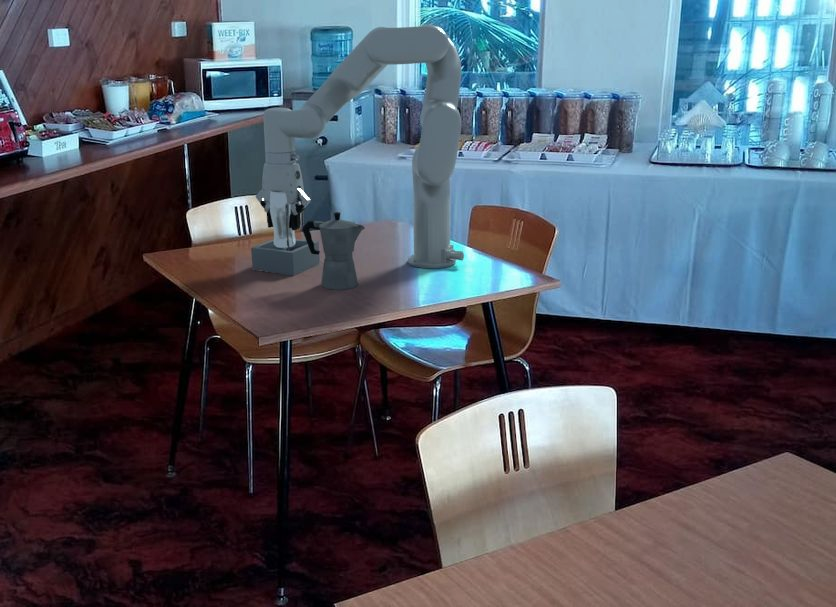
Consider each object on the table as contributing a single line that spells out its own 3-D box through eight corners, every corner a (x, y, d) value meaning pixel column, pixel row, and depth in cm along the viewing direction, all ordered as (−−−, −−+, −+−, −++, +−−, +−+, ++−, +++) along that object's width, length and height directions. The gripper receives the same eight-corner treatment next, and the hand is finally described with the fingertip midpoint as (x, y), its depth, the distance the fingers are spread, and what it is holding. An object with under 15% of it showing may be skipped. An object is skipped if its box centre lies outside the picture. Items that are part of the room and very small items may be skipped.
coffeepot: (370, 280, 226) (369, 209, 220) (360, 291, 217) (358, 217, 212) (311, 277, 229) (308, 206, 223) (298, 288, 220) (295, 215, 215)
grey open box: (319, 263, 241) (318, 241, 239) (294, 275, 230) (292, 252, 229) (279, 258, 246) (278, 237, 244) (252, 270, 235) (251, 247, 234)
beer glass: (296, 250, 233) (294, 192, 229) (269, 250, 233) (266, 192, 229) (300, 243, 240) (298, 187, 235) (273, 243, 240) (271, 187, 235)
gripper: (318, 158, 229) (320, 228, 235) (260, 154, 236) (264, 221, 242) (302, 162, 223) (305, 234, 228) (243, 158, 230) (247, 227, 235)
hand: (284, 227), depth 235 cm, fingers closed on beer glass, 6 cm apart
